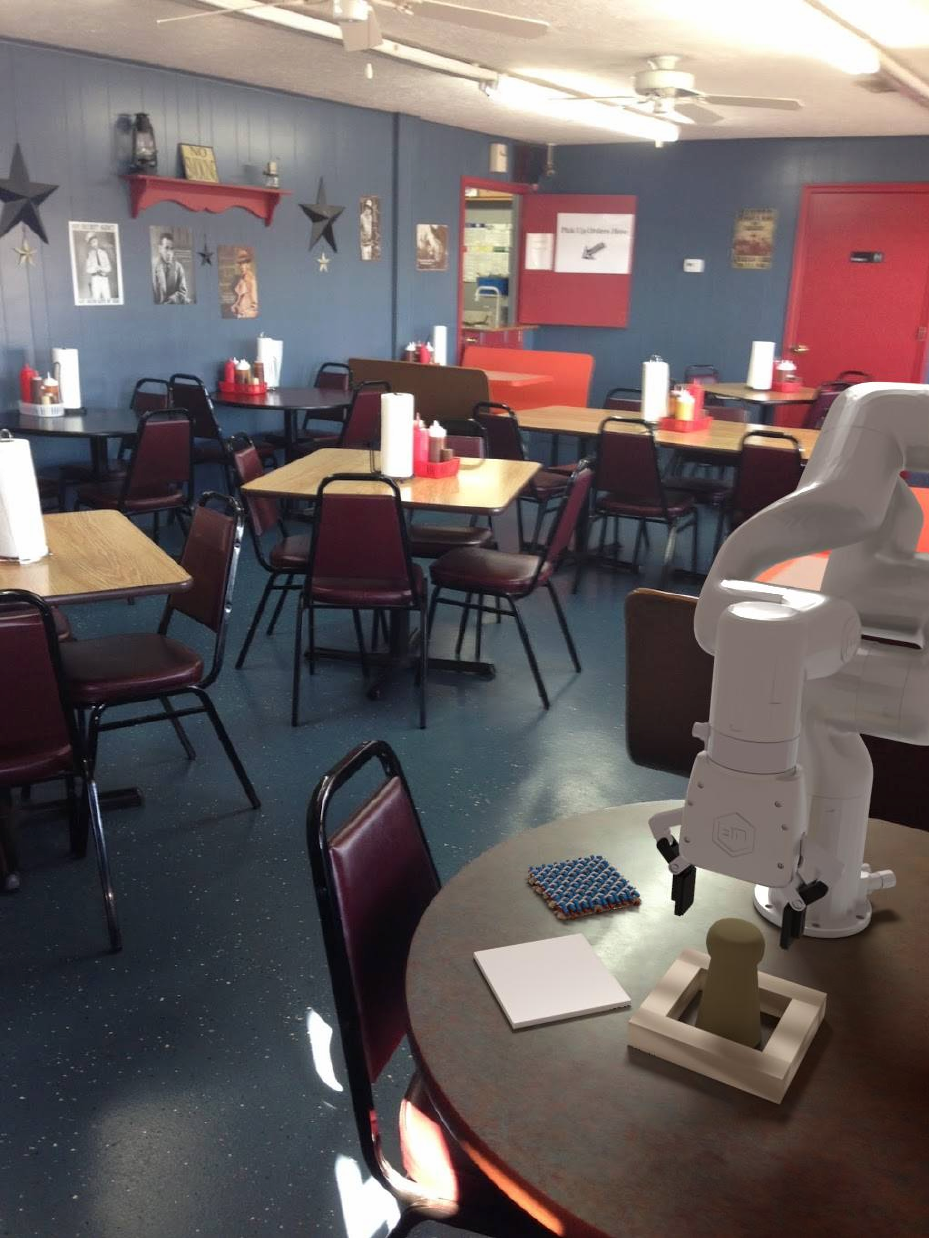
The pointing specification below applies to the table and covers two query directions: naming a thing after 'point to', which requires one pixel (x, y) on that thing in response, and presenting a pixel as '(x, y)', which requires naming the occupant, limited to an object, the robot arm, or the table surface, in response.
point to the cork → (732, 982)
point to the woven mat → (582, 887)
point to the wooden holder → (717, 1055)
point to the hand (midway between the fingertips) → (734, 925)
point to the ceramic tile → (550, 980)
